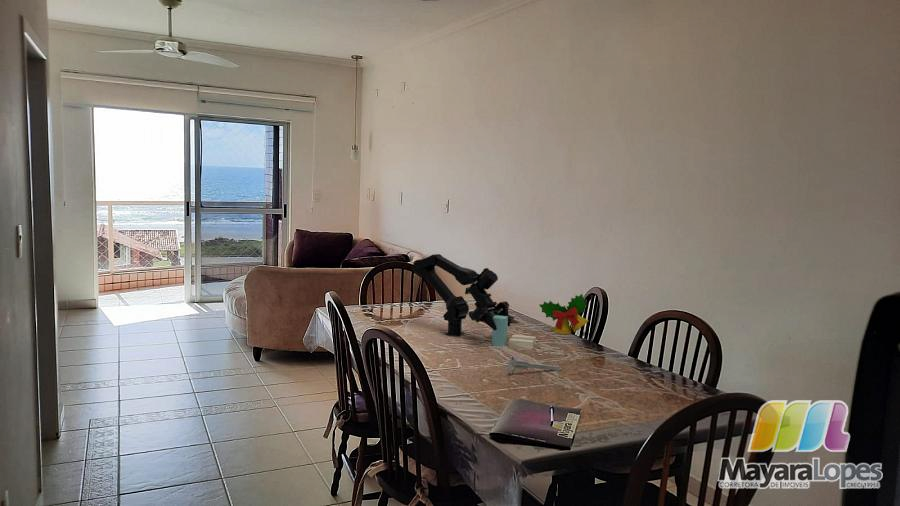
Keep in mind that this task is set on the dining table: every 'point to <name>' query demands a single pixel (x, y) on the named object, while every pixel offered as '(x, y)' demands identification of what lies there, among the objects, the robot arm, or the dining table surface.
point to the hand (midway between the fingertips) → (502, 327)
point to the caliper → (528, 366)
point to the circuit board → (509, 318)
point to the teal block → (500, 331)
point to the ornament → (566, 314)
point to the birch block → (522, 342)
